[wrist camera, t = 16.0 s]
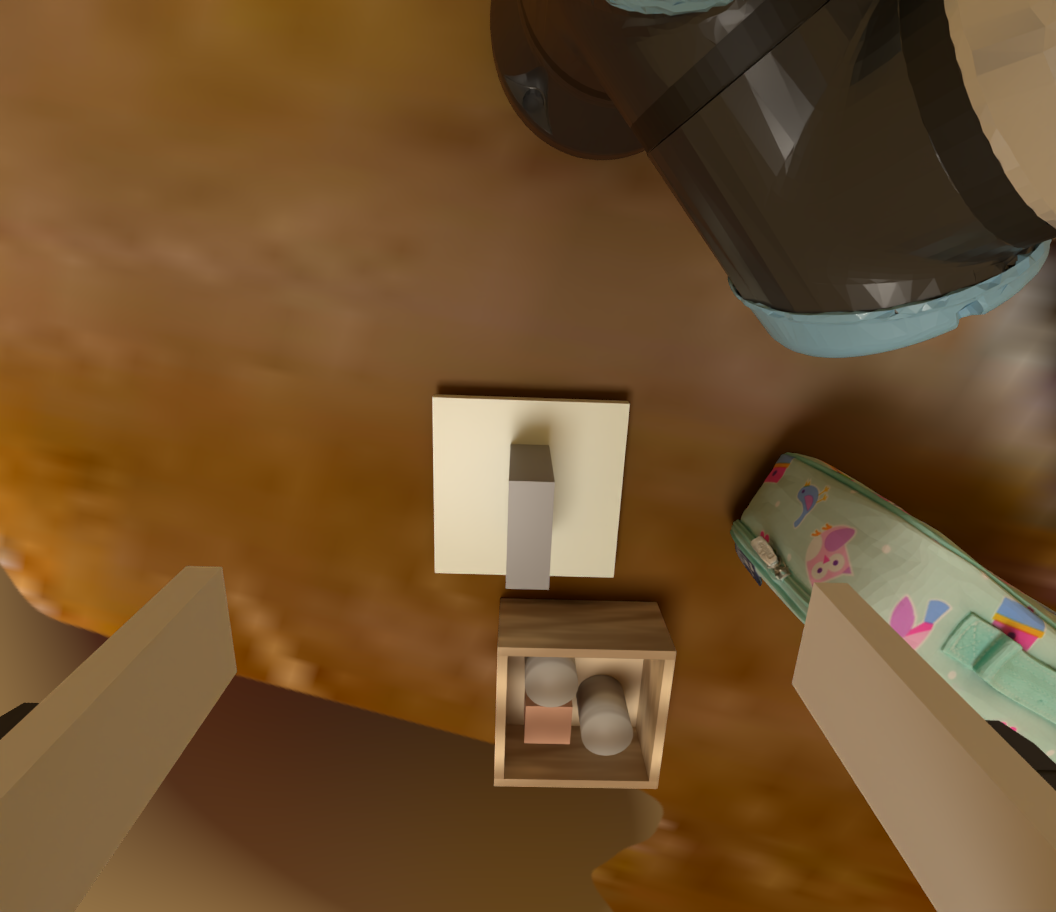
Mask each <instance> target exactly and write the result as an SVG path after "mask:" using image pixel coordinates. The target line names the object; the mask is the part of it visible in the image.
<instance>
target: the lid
mask: <svg viewBox="0 0 1056 912" xmlns="http://www.w3.org/2000/svg"><path fill="white" fill-rule="evenodd" d="M432 401H433V473H434V545H435V573H459V574H497V575H506V589H537V590H549V579H550V576H575V577H614V567H615V556H616V546H617V535H618V524H619V514H620V503H621V492H622V482H623V471H624V461H625V450H626V439H627V429H628V418H629V407H630V403H629V402H628V401H617V400H587V399H557V398H527V397H497V396H467V395H438V394H434V396H433V397H432Z"/></svg>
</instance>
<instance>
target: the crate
mask: <svg viewBox="0 0 1056 912" xmlns="http://www.w3.org/2000/svg"><path fill="white" fill-rule="evenodd" d="M675 657H676V649H675V647H674V644H673V642H672V639H671V637H670V634H669V632H668V629H667V627H666V624H665V622H664V619H663V617H662V614H661V611H660V609H659V606H658V604H657V602H633V601H593V600H553V599H513V598H500V612H499V630H498V650H497V690H496V730H495V770H494V771H495V773H494V774H495V775H494V786H520V787H578V788H580V787H581V788H638V789H657V788H658V780H659V773H660V766H661V759H662V751H663V744H664V737H665V730H666V722H667V715H668V708H669V701H670V694H671V686H672V679H673V672H674V665H675Z"/></svg>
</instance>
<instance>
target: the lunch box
mask: <svg viewBox="0 0 1056 912" xmlns="http://www.w3.org/2000/svg"><path fill="white" fill-rule="evenodd" d="M730 534H731V536H732V538H733V540H734V541H735V549H736V552H737V554H738V556H739V558H740V560H741V561H742V563H743V564H744V565H745V567H746V568H747V570H748V571H749V572H750V574H751V575H752V576H753V578H754V579H755V580H756V582H757V583H758V584H759V586H761V584H762V579H763V580H764V581H765V582H766V583H767V584H768V586H769V587H770V588H771V589H772V590H773V591H774V592H775V593H776V594H777V596H778V597H779V598H780V599H781V600H782V601H783V602H784V603H785V604H786V605H787V606H788V608H789V609H790V610H791V611H792V612H793V613H794V614H795V615H796V616H797V617H798V618H799V619H800V620H801V621H802V622H803V623H804V624H805V621H806V616H807V612H808V607H809V602H810V598H811V593H812V589H813V584H814V582H822V583H848V584H849V585H850V586H851V587H852V588H853V589H854V590H855V591H856V592H857V593H858V594H859V595H860V596H861V597H862V598H863V599H864V600H865V601H866V602H867V603H868V604H869V605H870V606H871V607H872V608H873V609H874V610H875V611H876V612H877V613H878V614H879V615H880V616H881V617H882V618H883V619H884V620H885V621H886V622H887V623H888V624H889V625H890V626H891V627H892V628H893V629H894V630H895V631H896V632H897V633H898V634H899V635H900V636H901V637H902V638H903V639H904V640H905V641H906V642H907V643H908V644H909V645H910V646H911V647H912V648H913V649H914V650H915V651H916V652H917V653H918V654H919V655H920V656H921V657H922V658H923V659H924V660H925V661H926V662H927V663H928V664H929V665H930V666H931V667H932V668H933V669H934V670H935V671H936V672H937V673H938V674H939V675H940V676H941V677H942V678H943V679H944V680H945V681H946V682H947V683H948V684H949V685H950V686H951V687H952V688H953V689H954V690H955V691H956V692H957V693H958V694H959V695H960V696H961V697H962V698H963V699H964V700H965V701H966V702H967V703H968V704H969V705H970V706H971V707H972V708H973V709H974V710H975V711H976V712H977V713H978V714H979V715H980V716H981V717H982V718H983V719H984V720H999V721H1000V722H1002V723H1004V724H1005V725H1007V726H1008V727H1010V728H1011V729H1013V730H1014V731H1016V732H1017V733H1019V734H1021V735H1022V736H1024V737H1025V738H1027V739H1028V740H1030V741H1031V742H1033V743H1034V744H1035V745H1036V746H1038V747H1039V748H1040V749H1041V750H1042V751H1043V752H1044V753H1045V754H1046V755H1047V756H1048V757H1049V758H1050V759H1051V760H1052V761H1053V762H1054V763H1055V764H1056V612H1054V611H1053V610H1051V609H1049V608H1048V607H1046V606H1045V605H1043V604H1041V603H1039V602H1038V601H1036V600H1034V599H1032V598H1031V597H1029V596H1027V595H1026V594H1024V593H1023V592H1021V591H1020V590H1018V589H1016V588H1015V587H1013V586H1012V585H1010V584H1009V583H1007V582H1006V581H1004V580H1003V579H1001V578H1000V577H998V576H996V575H995V574H993V573H992V572H990V571H989V570H987V569H986V568H984V567H983V566H981V565H980V564H979V563H977V562H976V561H975V560H974V559H973V558H972V557H970V556H969V555H968V554H967V553H966V552H964V551H963V550H962V549H961V548H959V547H958V546H957V545H956V544H955V543H953V542H952V541H951V540H950V539H948V538H947V537H946V536H944V535H943V534H942V533H941V532H939V531H938V530H936V529H934V528H933V527H931V526H929V525H928V524H926V523H924V522H922V521H920V520H918V519H917V518H915V517H913V516H911V515H910V514H908V513H907V512H906V511H904V510H903V509H902V508H900V507H899V506H897V505H896V504H894V503H893V502H891V501H889V500H887V499H886V498H884V497H882V496H881V495H879V494H877V493H876V492H874V491H873V490H871V489H870V488H868V487H867V486H865V485H863V484H862V483H860V482H859V481H857V480H855V479H853V478H852V477H850V476H848V475H847V474H845V473H843V472H842V471H840V470H838V469H836V468H834V467H833V466H831V465H829V464H827V463H825V462H824V461H821V460H819V459H817V458H813V457H810V456H806V455H802V454H797V453H789V452H787V453H785V454H782V455H781V456H780V458H779V459H778V460H777V462H776V464H775V465H774V467H773V469H772V471H771V472H770V474H769V475H768V476H767V478H766V479H765V481H764V483H763V485H762V486H761V488H760V489H759V491H758V492H757V493H756V495H755V496H754V498H753V499H752V501H751V502H750V504H749V506H748V507H747V508H746V510H745V511H744V512H743V514H742V516H741V520H739V519H737V520H736V521H734V522H733V525H732V529H731V531H730ZM761 578H762V579H761Z"/></svg>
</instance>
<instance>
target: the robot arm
mask: <svg viewBox="0 0 1056 912" xmlns="http://www.w3.org/2000/svg"><path fill="white" fill-rule="evenodd" d="M490 30H491V41H492V49H493V56H494V61H495V66H496V70H497V73H498V77H499V80H500V82H501V85H502V88H503V90H504V92H505V94H506V96H507V98H508V100H509V102H510V104H511V105H512V107H513V109H514V110H515V112H516V113H517V115H518V116H519V117H520V119H521V120H522V121H523V122H524V123H525V125H526V126H527V127H528V128H529V129H530V130H531V131H532V132H533V133H534V134H536V135H537V136H538V137H539V138H540V139H542V140H543V141H544V142H546V143H547V144H549V145H550V146H552V147H554V148H556V149H558V150H560V151H562V152H564V153H567V154H570V155H572V156H576V157H580V158H585V159H592V160H612V159H619V158H624V157H628V156H631V155H634V154H637V153H640V152H642V151H644V150H645V151H646V153H647V155H648V157H649V158H650V160H651V161H652V163H653V164H654V166H655V167H656V169H657V170H658V172H659V173H660V175H661V176H662V178H663V179H664V181H665V182H666V184H667V185H668V187H669V188H670V190H671V191H672V193H673V194H674V196H675V197H676V199H677V200H678V202H679V203H680V205H681V206H682V208H683V209H684V211H685V212H686V214H687V215H688V217H689V218H690V220H691V221H692V223H693V224H694V226H695V227H696V229H697V230H698V232H699V233H700V235H701V236H702V238H703V239H704V241H705V242H706V244H707V245H708V247H709V248H710V250H711V251H712V252H713V254H714V255H715V257H716V258H717V260H718V261H719V263H720V264H721V266H722V267H723V269H724V270H725V272H726V273H727V275H728V282H729V285H730V288H731V290H732V291H733V293H734V295H735V296H736V297H737V298H738V299H740V300H741V301H742V302H743V304H744V305H746V306H747V307H749V308H750V309H751V310H752V311H753V313H754V314H755V316H756V317H757V318H758V320H759V321H760V322H761V324H762V325H763V326H764V328H765V329H766V330H767V332H768V333H769V334H770V335H771V336H772V337H773V338H774V339H775V340H776V341H778V342H779V343H781V344H782V345H784V346H785V347H786V348H788V349H791V350H793V351H795V352H798V353H802V354H806V355H810V356H815V357H825V358H845V357H857V356H865V355H871V354H877V353H882V352H887V351H891V350H895V349H899V348H903V347H907V346H910V345H913V344H917V343H920V342H923V341H926V340H928V339H931V338H934V337H936V336H939V335H941V334H944V333H946V332H948V331H951V330H953V329H955V328H957V326H958V324H959V319H960V318H962V317H966V316H970V315H981V314H986V313H988V312H989V311H991V310H993V309H994V308H996V307H998V306H999V305H1001V304H1002V303H1004V302H1005V301H1007V300H1008V299H1010V298H1011V297H1012V296H1014V295H1015V294H1016V293H1017V292H1019V291H1020V290H1021V289H1022V288H1023V287H1024V286H1025V285H1026V284H1027V283H1028V282H1029V281H1030V280H1031V279H1032V278H1033V277H1034V276H1035V275H1036V274H1037V273H1038V272H1039V270H1040V269H1041V267H1042V265H1043V264H1044V262H1045V260H1046V258H1047V256H1048V253H1049V249H1050V243H1051V240H1052V239H1053V238H1055V237H1056V0H491V10H490ZM658 143H659V144H658ZM657 144H658V145H657ZM653 147H654V148H653ZM652 148H653V149H652ZM651 149H652V150H651ZM650 150H651V151H650ZM649 151H650V152H649ZM648 152H649V153H648ZM236 672H237V669H236V662H235V655H234V648H233V641H232V634H231V627H230V620H229V613H228V605H227V598H226V591H225V584H224V577H223V570H222V567H204V566H186V567H185V568H184V569H183V570H182V571H181V572H180V573H179V574H178V575H176V576H175V577H174V578H173V579H172V580H171V581H170V582H169V583H168V584H167V585H166V586H165V587H164V588H163V589H161V590H160V591H159V592H158V593H157V594H156V595H155V596H154V597H153V598H152V599H151V600H150V601H149V602H148V603H146V604H145V605H144V606H143V607H142V608H141V609H140V610H139V611H138V612H137V613H136V614H135V615H134V616H133V617H131V618H130V619H129V620H128V621H127V622H126V623H125V624H124V625H123V626H122V627H121V628H120V629H119V630H118V631H116V632H115V633H114V634H113V635H112V636H111V637H110V638H109V639H108V640H107V641H106V642H105V643H104V644H103V645H101V647H99V648H98V649H97V650H96V651H95V652H94V653H93V654H92V655H91V656H90V657H89V658H88V659H87V660H85V661H84V662H83V663H82V664H81V665H80V666H79V667H78V668H77V669H76V670H75V671H74V672H73V673H71V675H69V676H68V677H67V678H66V679H65V680H64V681H63V682H62V683H61V684H60V685H59V686H58V687H56V689H54V690H53V691H52V692H51V693H50V694H49V695H48V696H47V697H46V698H45V699H44V700H43V701H41V702H40V703H23V704H21V705H20V706H18V707H16V708H14V709H13V710H11V711H9V712H8V713H6V714H4V715H2V716H1V717H0V912H74V911H75V910H76V908H77V907H78V905H79V904H80V902H81V901H82V899H83V898H84V896H85V895H86V893H87V892H88V891H89V889H90V888H91V886H92V885H93V883H94V882H95V880H96V879H97V877H98V876H99V874H100V873H101V871H102V870H103V868H104V867H105V865H106V864H107V863H108V861H109V860H110V858H111V857H112V855H113V854H114V852H115V851H116V849H117V848H118V846H119V845H120V843H121V842H122V840H123V839H124V838H125V836H126V835H127V833H128V832H129V830H130V829H131V827H132V826H133V824H134V823H135V821H136V820H137V818H138V817H139V815H140V814H141V812H142V811H143V809H144V808H145V806H146V805H147V804H148V802H149V801H150V799H151V798H152V796H153V795H154V793H155V792H156V790H157V789H158V787H159V786H160V784H161V783H162V781H163V780H164V779H165V777H166V775H167V774H168V773H169V771H170V770H171V768H172V767H173V765H174V763H175V762H176V761H177V759H178V758H179V756H180V755H181V753H182V752H183V751H184V749H185V748H186V746H187V745H188V743H189V742H190V740H191V739H192V737H193V736H194V734H195V733H196V731H197V730H198V728H199V727H200V725H201V724H202V722H203V721H204V720H205V718H206V716H207V715H208V714H209V712H210V711H211V709H212V708H213V706H214V705H215V703H216V702H217V700H218V699H219V697H220V696H221V694H222V693H223V692H224V690H225V689H226V687H227V686H228V684H229V683H230V681H231V680H232V678H233V677H234V675H235V674H236ZM792 685H793V686H794V688H795V689H796V691H797V692H798V694H799V696H800V697H801V699H802V700H803V702H804V703H805V705H806V707H807V708H808V710H809V711H810V713H811V714H812V716H813V718H814V719H815V721H816V722H817V724H818V725H819V727H820V728H821V730H822V732H823V733H824V735H825V736H826V738H827V739H828V741H829V743H830V744H831V746H832V747H833V749H834V750H835V752H836V754H837V755H838V757H839V758H840V760H841V761H842V763H843V765H844V766H845V768H846V769H847V771H848V772H849V774H850V776H851V777H852V779H853V780H854V782H855V783H856V785H857V787H858V788H859V790H860V791H861V793H862V794H863V796H864V798H865V799H866V801H867V802H868V804H869V805H870V807H871V808H872V810H873V812H874V813H875V815H876V816H877V818H878V819H879V821H880V823H881V824H882V826H883V827H884V829H885V830H886V832H887V834H888V835H889V837H890V838H891V840H892V841H893V843H894V845H895V846H896V848H897V849H898V851H899V852H900V854H901V856H902V857H903V859H904V860H905V862H906V863H907V865H908V867H909V868H910V870H911V871H912V873H913V874H914V876H915V878H916V879H917V881H918V882H919V884H920V885H921V887H922V889H923V890H924V892H925V893H926V895H927V896H928V898H929V899H930V901H931V903H932V904H933V906H934V907H935V909H936V910H937V912H1056V764H1055V763H1054V762H1053V761H1052V760H1051V759H1050V758H1049V757H1048V756H1047V755H1046V754H1045V753H1044V752H1043V751H1042V750H1041V749H1040V748H1039V747H1038V746H1036V745H1035V744H1034V743H1033V742H1031V741H1030V740H1028V739H1027V738H1025V737H1024V736H1022V735H1021V734H1019V733H1017V732H1016V731H1014V730H1013V729H1011V728H1010V727H1008V726H1007V725H1005V724H1004V723H1002V722H1000V721H999V720H984V719H983V718H982V717H981V716H980V715H979V714H978V713H977V712H976V711H975V710H974V709H973V708H972V707H971V706H970V705H969V704H968V703H967V702H966V701H965V700H964V699H963V698H962V697H961V696H960V695H959V694H958V693H957V692H956V691H955V690H954V689H953V688H952V687H951V686H950V685H949V684H948V683H947V682H946V681H945V680H944V679H943V678H942V677H941V676H940V675H939V674H938V673H937V672H936V671H935V670H934V669H933V668H932V667H931V666H930V665H929V664H928V663H927V662H926V661H925V660H924V659H923V658H922V657H921V656H920V655H919V654H918V653H917V652H916V651H915V650H914V649H913V648H912V647H911V646H910V645H909V644H908V643H907V642H906V641H905V640H904V639H903V638H902V637H901V636H900V635H899V634H898V633H897V632H896V631H895V630H894V629H893V628H892V627H891V626H890V625H889V624H888V623H887V622H886V621H885V620H884V619H883V618H882V617H881V616H880V615H879V614H878V613H877V612H876V611H875V610H874V609H873V608H872V607H871V606H870V605H869V604H868V603H867V602H866V601H865V600H864V599H863V598H862V597H861V596H860V595H859V594H858V593H857V592H856V591H855V590H854V589H853V588H852V587H851V586H850V585H849V584H848V583H822V582H814V584H813V589H812V593H811V598H810V602H809V607H808V612H807V616H806V621H805V626H804V630H803V635H802V639H801V644H800V649H799V653H798V658H797V663H796V667H795V672H794V677H793V681H792Z"/></svg>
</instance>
